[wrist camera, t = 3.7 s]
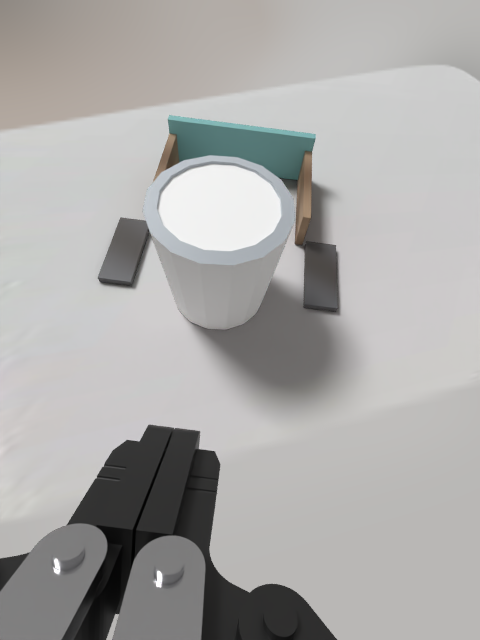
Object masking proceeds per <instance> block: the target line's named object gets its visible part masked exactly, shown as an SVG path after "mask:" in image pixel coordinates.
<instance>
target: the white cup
mask: <svg viewBox="0 0 480 640" xmlns="http://www.w3.org/2000/svg"><path fill="white" fill-rule="evenodd" d="M143 214H144V217H145V220H146V222H147V225H148V228H149V231H150V234H151V236H152V239H153V242H154V245H155V247H156V250H157V253H158V256H159V258H160V261H161V264H162V267H163V269H164V272H165V275H166V277H167V280H168V283H169V286H170V288H171V291H172V294H173V297H174V299H175V302H176V305H177V308H178V310H179V311H180V312H181V313H182V314H183V315H184V316H185V317H186V318H187V319H188V320H189V321H190V322H192V323H194V324H197V325H199V326H202V327H204V328H206V329H222V330H226V329H230V328H233V327H236V326H239V325H242V324H244V323H245V322H247V321H248V320H249V319H250V318H251V317H253V316H254V315H255V314H256V313H257V311H258V309H259V307H260V305H261V303H262V301H263V298H264V296H265V293H266V291H267V289H268V286H269V284H270V281H271V279H272V276H273V274H274V271H275V269H276V266H277V264H278V262H279V259H280V257H281V254H282V252H283V249H284V247H285V244H286V242H287V239H288V237H289V235H290V232H291V230H292V227H293V225H294V222H295V209H294V199H293V197H292V195H291V194H290V192H289V191H288V189H287V188H286V186H285V185H284V183H283V181H282V180H281V179H280V178H278V177H277V176H275V175H274V174H273V173H271V172H270V171H269V170H267V169H266V168H264V167H263V166H261V165H259V164H256V163H253V162H250V161H247V160H244V159H241V158H238V157H228V156H213V155H209V156H204V157H198V158H193V159H188V160H184V161H182V162H180V163H178V164H176V165H174V166H172V167H170V168H169V169H167V170H165V171H163V172H161V174H160V175H159V176H158V177H157V178H156V179H155V181H154V182H153V183H152V184H151V185H150V187H149V188H148V189H147V192H146V196H145V201H144V206H143Z"/></svg>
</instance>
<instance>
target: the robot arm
mask: <svg viewBox="0 0 480 640" xmlns="http://www.w3.org/2000/svg"><path fill="white" fill-rule="evenodd" d="M199 440H200V431H195V430H187V429H179V428H175V430H174V428H171V427H163V426H156V425H148V427H147V429H146V431H145V432H144V434H143V436H142V438H141V440H140V442H138V441H131V440H127V441H125V442H124V443H122V444H121V445H120V446H118V447H117V448H116V449H114V450H113V451H112V453H111V454H110V456H109V458H108V459H107V461H106V462H105V464H104V467H102V469H101V471H100V472H99V474H98V475H97V479H95V480H94V482H93V483H92V485H91V487H90V488H89V490H88V492H87V493H86V495H85V496H84V498H83V500H82V501H81V503H80V504H79V506H78V508H77V509H76V511H75V513H74V514H73V516H72V517H71V519H70V521H69V523H68V524H67V525H66V526H63V527H61V528H58V529H56V530H54V531H52V532H51V533H49V534H48V535H46V536H45V537H44V538H43V539H41V540H40V541H39V542H38V543H37V545H36V546H35V547H34V548H33V550H32V551H31V552H30V553H27V554H23V555H18V556H14V557H7V558H1V559H0V640H106V638H107V636H108V633H109V630H110V627H111V624H112V621H113V618H114V615H115V614H119V617H118V620H117V624H116V628H115V631H114V635H113V639H112V640H337V639H336V638H335V637H334V635H333V634H332V633H331V632H330V630H329V629H328V628H327V627H326V626H325V624H324V623H323V622H322V621H321V619H320V618H319V617H318V616H317V614H316V613H315V612H314V611H313V609H312V608H311V607H310V606H309V604H308V603H307V602H306V601H305V600H304V599H303V598H302V597H301V596H300V595H299V594H298V593H297V592H295V591H293V590H292V589H290V588H287V587H285V586H282V585H278V584H266V585H262V586H259V587H257V588H255V589H254V590H252V591H251V592H250V593H249V592H247V591H245V590H243V589H241V588H239V587H237V586H235V585H233V584H232V583H230V582H228V581H227V580H226V579H225V578H223V577H222V576H221V575H220V574H219V573H218V571H217V570H216V568H215V567H214V565H213V563H212V561H211V557H210V553H209V546H210V539H211V531H212V524H213V516H214V509H215V502H216V494H217V486H218V479H219V471H220V463H219V460H218V458H217V456H216V453H215V451H208V450H200V449H199Z"/></svg>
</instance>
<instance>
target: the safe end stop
mask: <svg viewBox="0 0 480 640" xmlns="http://www.w3.org/2000/svg"><path fill="white" fill-rule="evenodd" d="M168 124H169V133H170V134H177V144H178V154H179V163H180V162H182V161H184V160H188V159H193V158H198V157H204V156H209V155H213V156H228V157H238V158H241V159H244V160H247V161H250V162H253V163H256V164H259V165H261V166H263V167H264V168H266V169H267V170H269V171H270V172H271V173H273V174H274V175H275V176H277V177H278V178H285V179H293V180H298V177H299V173H300V169H301V165H302V161H303V157H304V153H305V151H310V152H312V150H313V146H314V142H315V134H310V133H303V132H295V131H287V130H279V129H272V128H264V127H256V126H248V125H241V124H233V123H225V122H218V121H210V120H202V119H194V118H187V117H179V116H171V115H169V118H168Z"/></svg>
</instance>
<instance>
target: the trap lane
mask: <svg viewBox="0 0 480 640" xmlns="http://www.w3.org/2000/svg"><path fill="white" fill-rule="evenodd" d="M178 163H179V154H178V144H177V134H169V137H168V139H167V142H166V145H165V148H164V151H163V154H162V157H161V160H160V163H159V166H158V169H157V172H156V175H155V178H154V180H153V182H154V181H155V179H156V178H157V177H158V176H159V175H160V174H161V172H163V171H165V170H167V169H169V168H170V167H172V166H174V165H176V164H178ZM311 182H312V152H310V151H305V153H304V157H303V161H302V165H301V169H300V173H299V177H298V183H297V207H296V230H295V244H298V245H302V244H303V241H304V238H305V235H306V232H307V229H308V226H309V223H310V219H311ZM148 234H149V228H148V225H147V222H146V221H144V220H136V219H128V218H120V220H119V223H118V226H117V228H116V231H115V233H114V236H113V239H112V241H111V244H110V247H109V249H108V252H107V254H106V257H105V260H104V262H103V265H102V268H101V270H100V273H99V276H98V279H99V281H100V282H108V283H116V284H123V285H131V286H132V284H133V281H134V278H135V275H136V271H137V268H138V265H139V262H140V259H141V256H142V252H143V249H144V246H145V243H146V240H147V237H148ZM304 308H311V309H319V310H327V311H335V312H336V311H337V309H338V297H337V266H336V245H331V244H323V243H315V242H307V241H306V244H305V268H304Z"/></svg>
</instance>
